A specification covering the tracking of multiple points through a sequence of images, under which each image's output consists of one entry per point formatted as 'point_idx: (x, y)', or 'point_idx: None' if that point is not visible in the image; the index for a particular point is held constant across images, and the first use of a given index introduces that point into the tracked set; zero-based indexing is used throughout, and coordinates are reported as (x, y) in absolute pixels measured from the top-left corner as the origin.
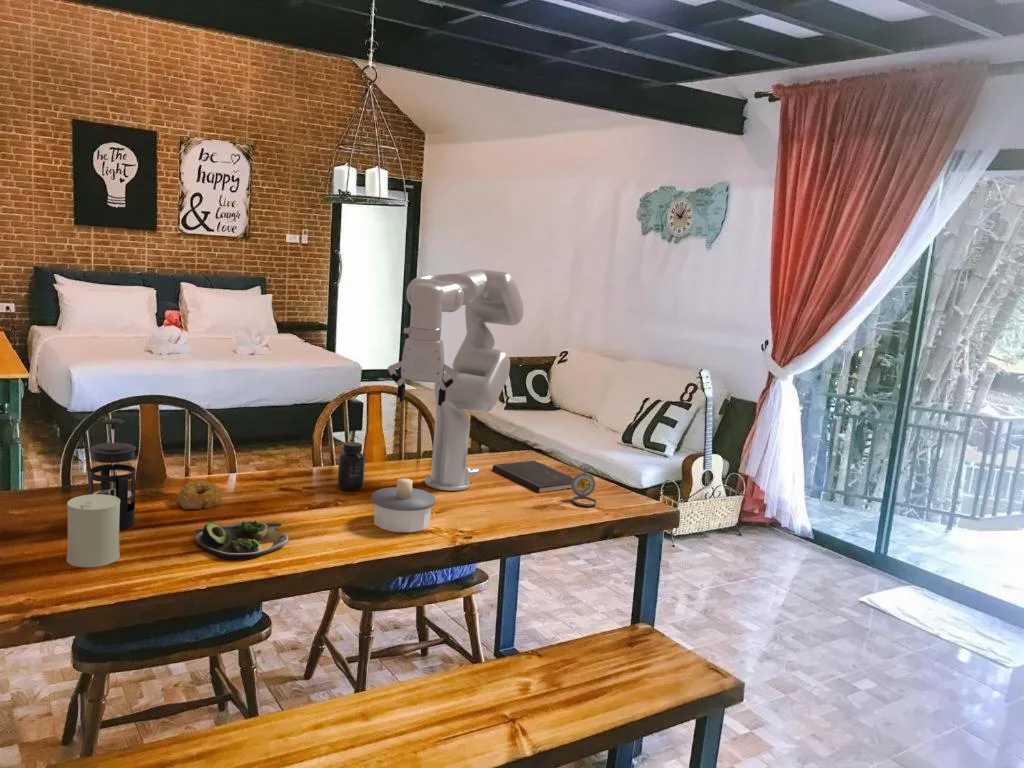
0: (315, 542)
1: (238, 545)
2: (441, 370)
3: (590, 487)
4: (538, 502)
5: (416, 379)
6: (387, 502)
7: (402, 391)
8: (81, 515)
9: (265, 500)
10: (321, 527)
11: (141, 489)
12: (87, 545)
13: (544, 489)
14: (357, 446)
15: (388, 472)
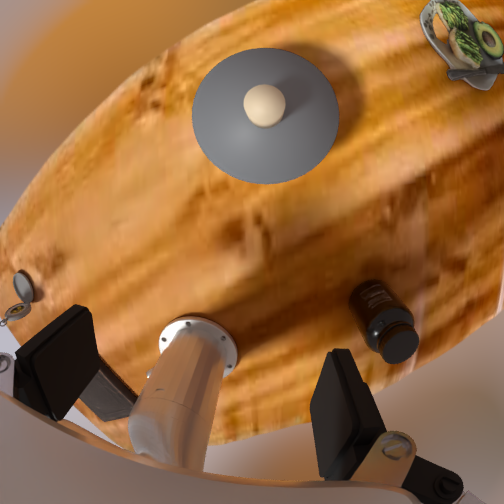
0: (389, 30)
1: (456, 4)
2: None
3: (14, 307)
4: (62, 282)
5: (191, 484)
6: (298, 70)
7: (347, 399)
8: None
9: (480, 207)
10: (398, 85)
11: None
12: None
13: None
14: (394, 334)
15: (302, 385)
